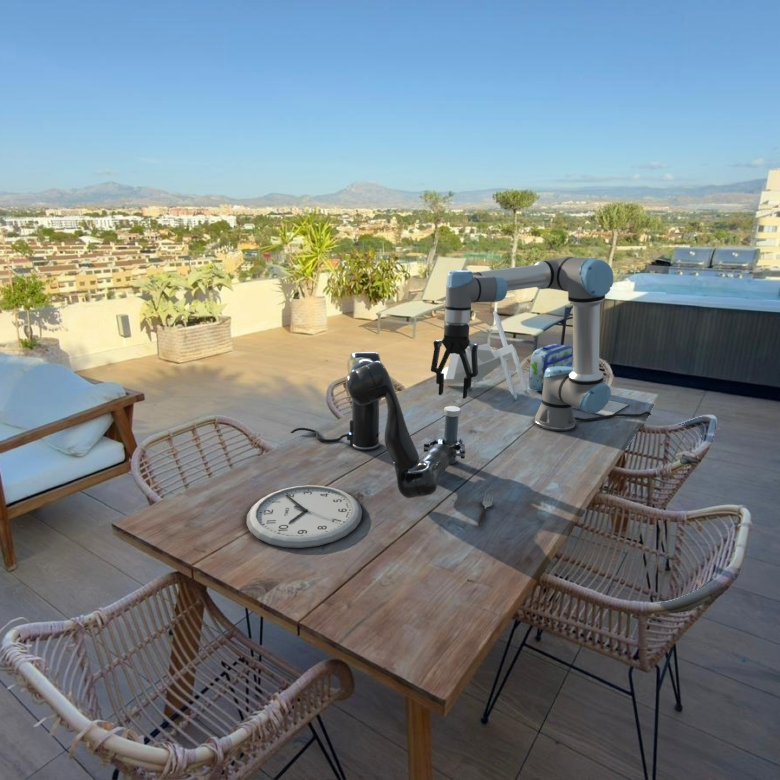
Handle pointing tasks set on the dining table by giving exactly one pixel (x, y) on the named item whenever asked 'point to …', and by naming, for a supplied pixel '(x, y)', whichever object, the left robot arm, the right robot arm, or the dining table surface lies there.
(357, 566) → the dining table surface
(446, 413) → the lid
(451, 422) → the bottle
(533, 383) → the lunch box
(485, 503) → the fork
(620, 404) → the invitation card
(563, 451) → the dining table surface
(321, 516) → the wall clock
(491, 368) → the white plastic object
